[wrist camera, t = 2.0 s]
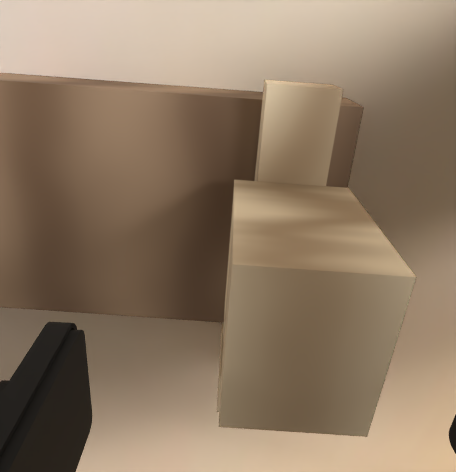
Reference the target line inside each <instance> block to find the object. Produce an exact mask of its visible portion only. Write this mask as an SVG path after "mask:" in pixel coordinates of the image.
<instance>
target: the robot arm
mask: <svg viewBox="0 0 456 472" xmlns="http://www.w3.org/2000/svg"><path fill="white" fill-rule="evenodd" d="M91 423H92V408H91V397H90V387H89V376H88V366H87V355H86V345H85V335H84V331H83V330H77V327H76V325H75V324H74V323H61V322H48V323H47V324H46V325H45V327H44V328H43V330H42V331H41V333H40V334H39V336H38V337H37V339H36V340H35V342H34V344H33V345H32V347H31V348H30V350H29V351H28V353H27V354H26V356H25V357H24V359H23V361H22V362H21V364H20V365H19V367H18V368H17V370H16V371H15V373H14V374H13V376H12V378H11V379H10V381H1V382H0V472H76V469H77V466H78V463H79V460H80V458H81V455H82V452H83V449H84V446H85V443H86V441H87V438H88V435H89V432H90V428H91ZM449 440H450V443H451V446H452V448H453V450H454V451H455V453H456V415H455V418H454V420H453V422H452V425H451V427H450V430H449Z"/></svg>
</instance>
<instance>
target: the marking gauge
mask: <svg viewBox="0 0 456 472" xmlns="http://www.w3.org/2000/svg"><path fill="white" fill-rule="evenodd" d="M342 93H343V89H341V88H339V87H337V86H335V85H328V84H315V83H301V82H288V81H275V80H264V90H263V100H262V110H261V120H260V130H259V140H258V150H257V160H256V170H255V180H254V181H247V180H234V191H233V203H232V216H231V229H230V242H229V255H228V268H227V281H226V294H225V311H224V322H222V330H221V347H220V365H219V382H218V400H217V412H219V427H229V428H244V429H259V430H274V431H290V432H305V433H320V434H335V435H350V436H365V437H367V436H368V432H369V429H370V426H371V423H372V419H373V416H374V413H375V410H376V407H377V403H378V400H379V397H380V394H381V390H382V387H383V384H384V381H385V377H386V374H387V371H388V368H389V364H390V361H391V358H392V355H393V352H394V348H395V345H396V342H397V339H398V335H399V332H400V329H401V326H402V322H403V319H404V316H405V313H406V310H407V306H408V303H409V300H410V297H411V293H412V290H413V287H414V284H415V280H416V276H415V275H414V273H413V272H412V271H411V269H410V268H409V267H408V265H407V264H406V263H405V261H404V260H403V259H402V257H401V256H400V255H399V253H398V252H397V251H396V249H395V248H394V247H393V246H392V244H391V243H390V242H389V240H388V239H387V238H386V236H385V235H384V234H383V232H382V231H381V230H380V228H379V227H378V226H377V224H376V223H375V222H374V220H373V219H372V218H371V217H370V215H369V214H368V213H367V211H366V210H365V209H364V207H363V206H362V205H361V203H360V202H359V201H358V199H357V198H356V197H355V195H354V194H353V193H352V191H351V190H350V189H349V188H344V187H330V186H326V183H327V177H328V172H329V166H330V160H331V155H332V149H333V144H334V138H335V132H336V127H337V121H338V116H339V110H340V104H341V99H342Z"/></svg>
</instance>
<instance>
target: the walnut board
mask: <svg viewBox="0 0 456 472" xmlns="http://www.w3.org/2000/svg"><path fill="white" fill-rule="evenodd" d="M262 100H263V92H252V91H239V90H225V89H212V88H198V87H185V86H171V85H158V84H144V83H131V82H117V81H104V80H90V79H77V78H63V77H50V76H36V75H23V74H10V73H0V307H7V308H22V309H36V310H51V311H65V312H80V313H95V314H109V315H124V316H138V317H153V318H168V319H182V320H197V321H211V322H224V311H225V294H226V281H227V268H228V255H229V242H230V229H231V216H232V203H233V191H234V180H247V181H254V180H255V170H256V160H257V150H258V140H259V130H260V120H261V110H262ZM363 108H364V107H362V106H360V105H359V104H357V103H355V102H353V101H351V100H349V99H347V98H342V99H341V104H340V110H339V116H338V121H337V127H336V132H335V138H334V144H333V149H332V155H331V160H330V166H329V172H328V177H327V183H326V186H330V187H344V188H347V187H348V182H349V177H350V172H351V167H352V162H353V157H354V153H355V148H356V143H357V138H358V133H359V128H360V123H361V118H362V113H363Z"/></svg>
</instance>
